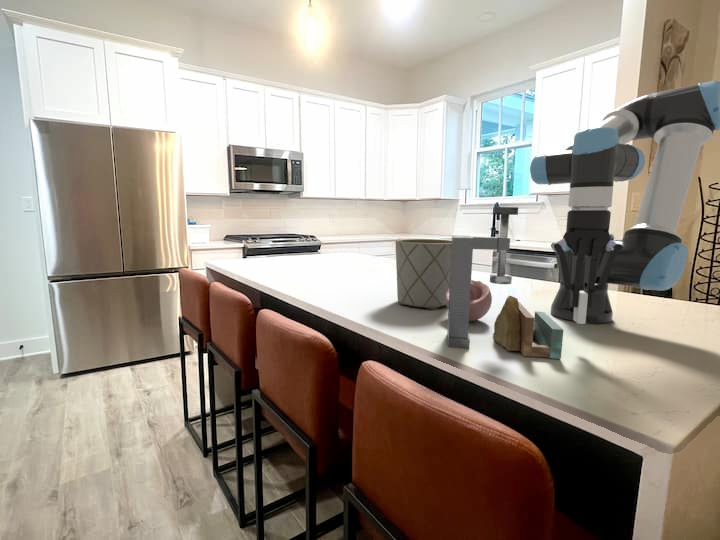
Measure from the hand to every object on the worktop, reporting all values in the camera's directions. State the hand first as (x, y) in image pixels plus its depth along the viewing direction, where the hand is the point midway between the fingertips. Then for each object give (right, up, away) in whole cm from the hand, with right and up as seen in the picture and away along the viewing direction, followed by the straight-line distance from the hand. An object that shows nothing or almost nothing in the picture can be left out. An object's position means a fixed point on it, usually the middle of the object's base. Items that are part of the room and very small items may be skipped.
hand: (579, 321), depth 81 cm
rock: (-14, -5, +3) cm, 15 cm away
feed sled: (-9, -5, +2) cm, 11 cm away
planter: (-26, 0, +41) cm, 48 cm away
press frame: (-21, -5, +5) cm, 22 cm away
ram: (-16, +8, +2) cm, 18 cm away
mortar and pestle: (-18, -3, +22) cm, 28 cm away
